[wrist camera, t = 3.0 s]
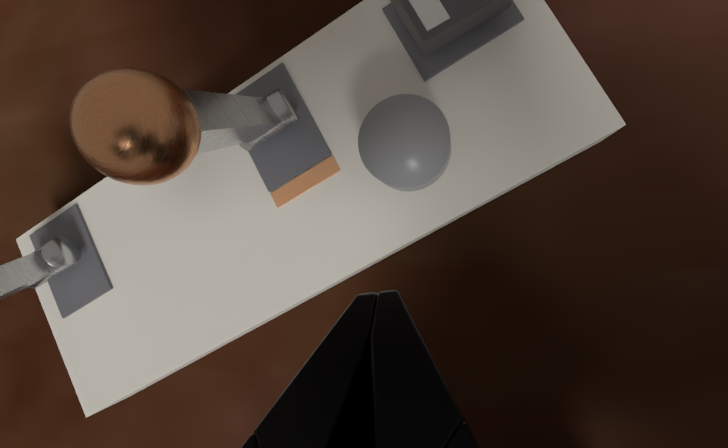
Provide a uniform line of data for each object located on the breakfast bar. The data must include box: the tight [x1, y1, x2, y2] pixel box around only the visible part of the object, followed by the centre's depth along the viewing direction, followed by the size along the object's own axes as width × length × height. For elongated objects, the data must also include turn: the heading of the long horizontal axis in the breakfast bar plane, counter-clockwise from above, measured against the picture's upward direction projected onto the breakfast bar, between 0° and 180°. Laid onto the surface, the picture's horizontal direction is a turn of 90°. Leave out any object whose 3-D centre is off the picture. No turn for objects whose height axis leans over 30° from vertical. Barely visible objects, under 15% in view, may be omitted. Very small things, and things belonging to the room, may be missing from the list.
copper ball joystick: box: [69, 67, 299, 185], centre depth 13 cm, size 3×3×12 cm
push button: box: [358, 94, 451, 191], centre depth 17 cm, size 4×4×2 cm
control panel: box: [16, 0, 626, 417], centre depth 21 cm, size 11×30×3 cm, turn 119°
